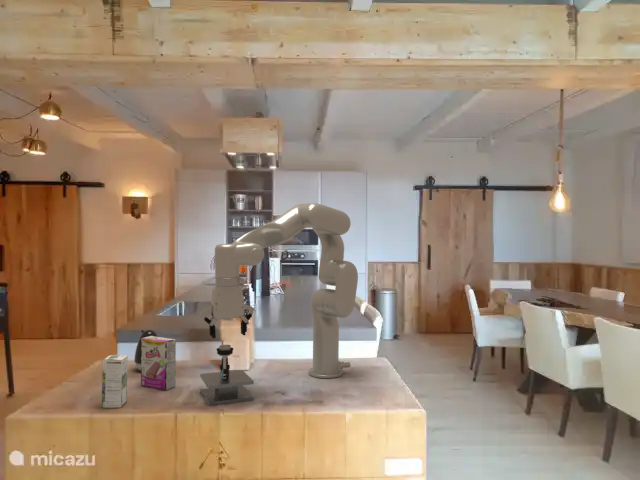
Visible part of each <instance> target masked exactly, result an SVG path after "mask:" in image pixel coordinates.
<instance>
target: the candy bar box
mask: <svg viewBox="0 0 640 480" xmlns="http://www.w3.org/2000/svg"><path fill="white" fill-rule="evenodd" d="M176 348H177V347H176V339H175V338H169V337H161V336H158V337H155V336H148V337H144V338H141V371H140V386H141V387H145V388H146V387H147V388H149V389H156V390H162V391H169V390H171V389H173V388H176V359H177V357H176Z"/></svg>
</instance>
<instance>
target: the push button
mask: <svg viewBox="0 0 640 480" xmlns="http://www.w3.org/2000/svg"><path fill="white" fill-rule="evenodd" d="M233 351H234V348H233V347H231V344H220V345H219V346H218V348H216V354H217V355H219V356H220V357H221V364H220V366H219V369H220V371H219V372H222V379H227V376H228V375H229V376H230V371H231V370H230V364H229V358H228V357H229V356H231V355H232V354H234V352H233Z"/></svg>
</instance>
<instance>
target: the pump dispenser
mask: <svg viewBox="0 0 640 480" xmlns="http://www.w3.org/2000/svg"><path fill="white" fill-rule="evenodd" d="M148 336H155V337H159V336H158V334H157V332H155V331H154V330H152V329H146V330H144V329H141V335H140V336H139V338H138V341H137V344H136V347H135V354H134V360H133V361H134V362H133V363H135V366H136V368H137V370H139V371H140V372H141V338H144V337H148Z"/></svg>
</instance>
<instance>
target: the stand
mask: <svg viewBox="0 0 640 480" xmlns="http://www.w3.org/2000/svg"><path fill="white" fill-rule="evenodd" d="M229 371H230V376H229V375H228V376H227V379H222V372H220V371H218V372H207V373H200V375H199V377H200V379H201V380H202V382H203V383H204V385H205V386H206V388H200V389H199V393H200V395H201V397H202V398H203V399H204V401H205V402H206V404H207V406H209V407H210V406H219V405H225V404H232V403H233V404H234V403H240V402H241V403H242V402H249V401H254V398H255V397H254V395H252V394H251V392H250V391H248V389H247V388H246V387H245V386H250V385H251V386H253V385H254V380H253V379H252V378H251V376H249V375H248V374H247V373H246V372H245V371H244V370H243V369H237V370H229Z"/></svg>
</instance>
